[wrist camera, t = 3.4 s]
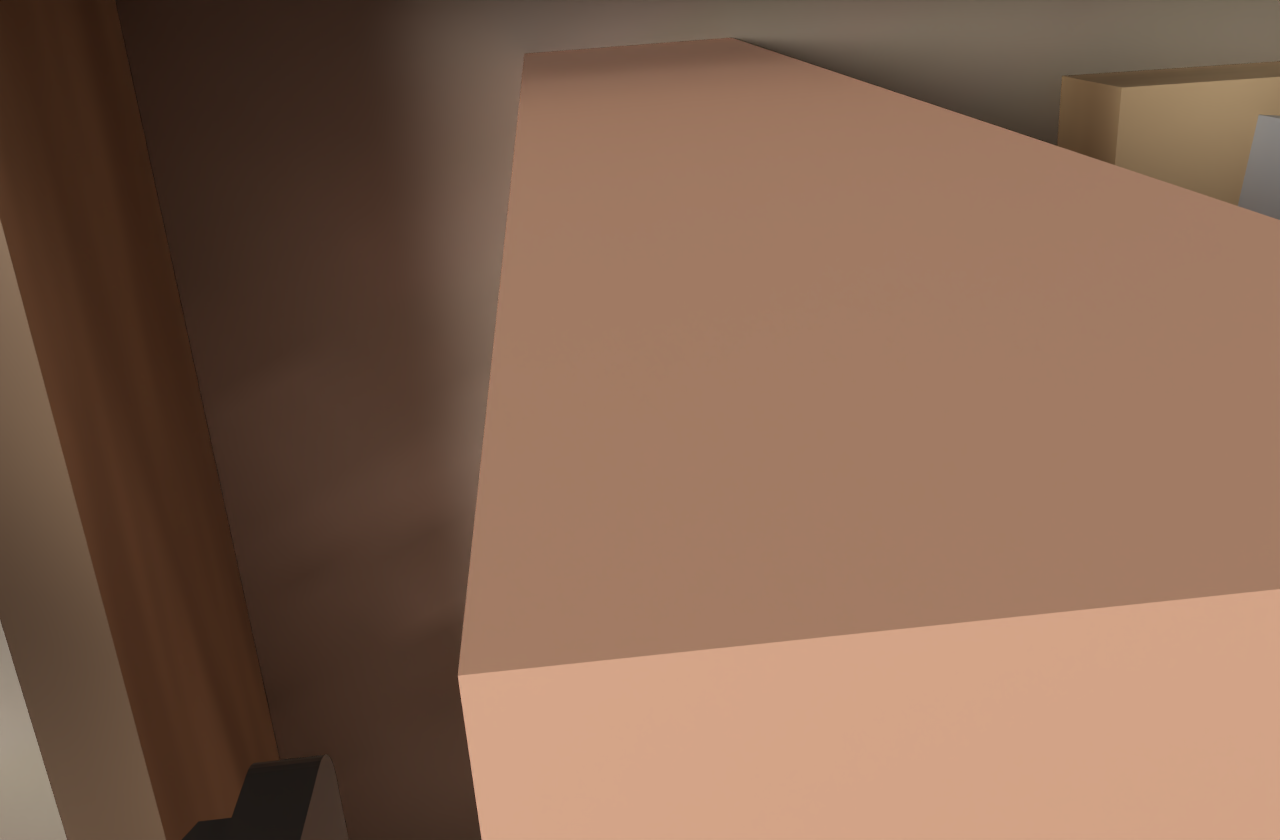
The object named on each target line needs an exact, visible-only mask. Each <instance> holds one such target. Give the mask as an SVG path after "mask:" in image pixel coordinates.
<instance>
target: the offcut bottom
mask: <svg viewBox="0 0 1280 840" xmlns="http://www.w3.org/2000/svg"><path fill="white" fill-rule="evenodd" d="M1259 115H1278V116H1280V61H1277V62H1262V63H1247V64H1232V65H1218V66H1203V67H1188V68H1173V69H1158V70H1143V71H1128V72H1113V73H1099V74H1084V75H1069V76H1062V84H1061V98H1060V113H1059V127H1058V141H1057V146H1059V147H1062V148H1065V149H1068V150H1071V151H1074V152H1077V153H1080V154H1083V155H1086V156H1089V157H1092V158H1095V159H1098V160H1101V161H1104V162H1107V163H1110V164H1113V165H1116V166H1119V167H1122V168H1125V169H1128V170H1131V171H1134V172H1137V173H1140V174H1143V175H1146V176H1149V177H1152V178H1155V179H1158V180H1161V181H1164V182H1167V183H1170V184H1173V185H1176V186H1179V187H1182V188H1185V189H1188V190H1191V191H1194V192H1197V193H1200V194H1203V195H1206V196H1209V197H1212V198H1215V199H1218V200H1221V201H1224V202H1227V203H1230V204H1233V205H1236V206H1238V202H1239V198H1240V194H1241V189H1242V185H1243V181H1244V176H1245V172H1246V168H1247V163H1248V159H1249V155H1250V150H1251V146H1252V142H1253V137H1254V133H1255V129H1256V124H1257V120H1258V116H1259Z"/></svg>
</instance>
